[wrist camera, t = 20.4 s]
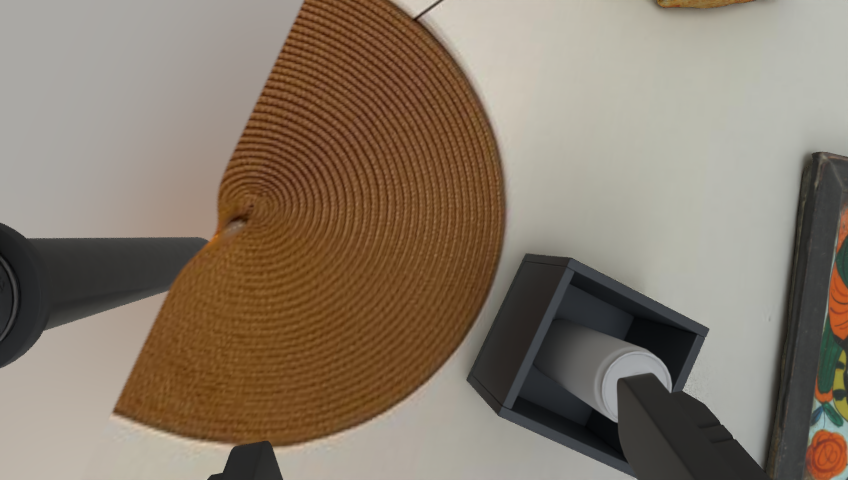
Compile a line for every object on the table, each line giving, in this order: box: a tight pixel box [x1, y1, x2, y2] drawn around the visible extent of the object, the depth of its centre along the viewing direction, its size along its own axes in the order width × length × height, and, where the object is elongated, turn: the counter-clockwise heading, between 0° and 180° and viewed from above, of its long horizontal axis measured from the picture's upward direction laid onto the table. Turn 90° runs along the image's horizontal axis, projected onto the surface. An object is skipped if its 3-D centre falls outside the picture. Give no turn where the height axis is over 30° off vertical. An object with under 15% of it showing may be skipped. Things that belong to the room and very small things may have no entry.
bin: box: [467, 254, 709, 478], centre depth 40 cm, size 11×11×9 cm
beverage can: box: [533, 319, 672, 423], centre depth 38 cm, size 5×5×12 cm
